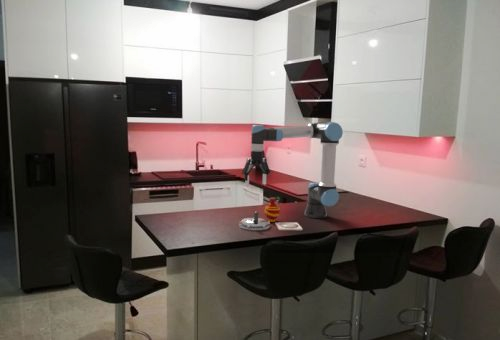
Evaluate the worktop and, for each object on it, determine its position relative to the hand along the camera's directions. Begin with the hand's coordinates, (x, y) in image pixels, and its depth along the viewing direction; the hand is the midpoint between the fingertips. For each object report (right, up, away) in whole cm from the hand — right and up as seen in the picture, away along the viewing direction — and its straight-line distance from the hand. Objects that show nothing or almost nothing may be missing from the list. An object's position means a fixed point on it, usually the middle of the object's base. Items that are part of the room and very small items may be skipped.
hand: (255, 185), depth 253 cm
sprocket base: (-1, -25, -1) cm, 25 cm away
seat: (+20, -26, 0) cm, 33 cm away
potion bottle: (+11, -24, +14) cm, 30 cm away
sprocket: (-1, -24, -1) cm, 24 cm away
